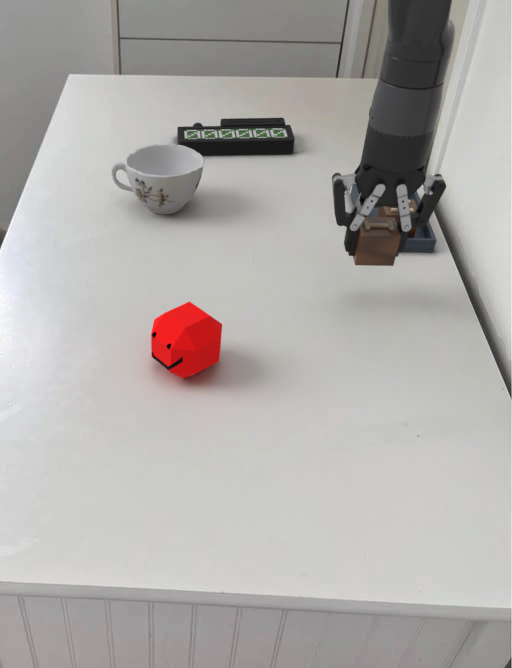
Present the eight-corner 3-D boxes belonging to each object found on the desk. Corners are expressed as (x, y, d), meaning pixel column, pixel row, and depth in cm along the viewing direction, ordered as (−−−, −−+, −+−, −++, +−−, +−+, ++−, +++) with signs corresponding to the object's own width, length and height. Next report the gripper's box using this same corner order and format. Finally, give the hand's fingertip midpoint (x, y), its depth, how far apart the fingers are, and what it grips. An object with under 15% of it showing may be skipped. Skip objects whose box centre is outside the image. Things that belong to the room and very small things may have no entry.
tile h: (407, 224, 113) (414, 197, 110) (413, 241, 110) (420, 213, 107) (375, 224, 114) (381, 196, 110) (380, 240, 110) (386, 212, 107)
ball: (141, 361, 92) (140, 311, 86) (190, 338, 95) (191, 288, 89) (181, 394, 87) (182, 343, 82) (230, 368, 90) (234, 317, 85)
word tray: (411, 196, 121) (414, 184, 119) (433, 252, 109) (437, 240, 107) (350, 195, 121) (352, 183, 120) (365, 251, 109) (367, 238, 108)
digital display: (288, 114, 137) (295, 137, 130) (286, 132, 139) (293, 155, 133) (177, 116, 137) (178, 139, 130) (176, 133, 139) (178, 157, 133)
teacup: (207, 192, 123) (209, 144, 117) (196, 228, 114) (198, 178, 109) (121, 185, 125) (119, 138, 119) (105, 220, 117) (101, 171, 111)
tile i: (387, 246, 97) (395, 215, 94) (393, 266, 94) (401, 234, 91) (350, 245, 98) (356, 214, 94) (354, 265, 94) (361, 233, 91)
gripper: (343, 133, 81) (320, 267, 94) (473, 133, 80) (432, 269, 93) (336, 107, 86) (315, 238, 99) (458, 107, 85) (421, 239, 98)
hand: (372, 252), depth 96 cm, fingers closed on tile i, 5 cm apart
